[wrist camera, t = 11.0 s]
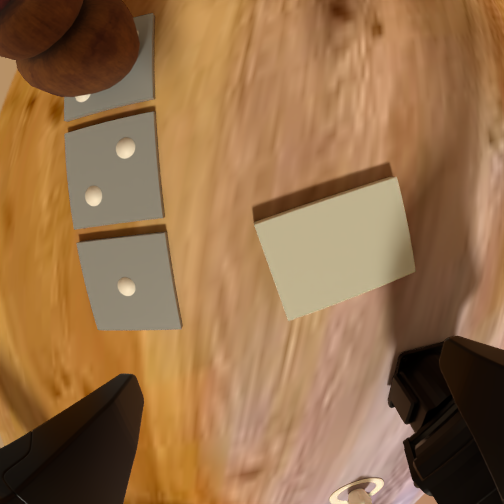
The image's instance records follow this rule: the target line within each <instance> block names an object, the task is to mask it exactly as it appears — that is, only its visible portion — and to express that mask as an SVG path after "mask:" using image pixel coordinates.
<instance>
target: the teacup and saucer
mask: <svg viewBox="0 0 504 504" xmlns="http://www.w3.org/2000/svg"><path fill="white" fill-rule="evenodd" d="M364 482H374V483H375V484H376V488H375V489H374V490H373V491H372V492H370V493H369V494H367V493H366V491H365V490H364V489H356V490H353V491H351V492H350V493H349V495H348V501H340V500H338V499H337V496H338V494H339V493H341V492H342V491H343V490H345V489H347V488H349V487H351V486H353V485H356V484H360V483H364ZM383 485H384V481H383V480H382V479H380V478H368V479H363V480H359V481H356V482H353V483H350V484H348V485H346V486H344V487H342V488H340V489H338V490H337V491H335V492H334V493H333V494H332V495H331V496H330V498H329V501H330V502H331V503H332V504H372V503H371V501H372V499H371V497H370V496H372V495H374V494H375V493H376V492H378V491H379V490H380V489H381V488H382V486H383Z"/></svg>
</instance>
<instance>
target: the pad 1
mask: <svg viewBox="0 0 504 504" xmlns="http://www.w3.org/2000/svg"><path fill="white" fill-rule="evenodd" d="M133 19H134V22H135V25H136V29H137V33H138V37H139V42H140V46H139V52H138V58H137V60H136V62H135V64H134V66H133V67H132V69H131V71H130V72H129V73H128V74H127V75H126V76H125V77H124V78H123V79H122V80H121V81H120V82H118V83H117V84H115V85H114V86H112V87H111V88H109V89H106V90H103V91H101V92H97V93H94V94H88V95H82V96H76V97H65V100H64V121H67V122H68V121H71V120H74V119H78V118H81V117H84V116H88V115H91V114H94V113H98V112H102V111H105V110H109V109H113V108H117V107H121V106H125V105H129V104H134V103H138V102H143V101H148V100H153V99H155V82H154V22H155V16H154V14H153V13H150V14H146V15H142V16H138V17H135V18H133Z"/></svg>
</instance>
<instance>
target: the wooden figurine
mask: <svg viewBox="0 0 504 504" xmlns="http://www.w3.org/2000/svg"><path fill="white" fill-rule="evenodd" d="M139 46H140V42H139V37H138V33H137V29H136V25H135V22H134V19H133V16H132V15H131V13H130V11H129V10H128V8H127V7H126V5H125V4H124V3H123V1H122V0H0V56H1V57H5V58H9V59H13V60H16V63H17V68H18V71H19V72H20V74H21V75H22V76H23V78H24V79H25V80H26V81H27V82H28V83H29V84H30V85H31V86H33V87H36V88H38V89H40V90H43V91H45V92H48V93H51V94H54V95H57V96H61V97H76V96H82V95H88V94H94V93H97V92H101V91H103V90H106V89H109V88H111V87H112V86H114V85H115V84H117V83H118V82H120V81H121V80H122V79H123V78H124V77H125V76H126V75H127V74H128V73H129V72H130V71H131V69H132V67H133V66H134V64H135V62H136V60H137V58H138V52H139Z"/></svg>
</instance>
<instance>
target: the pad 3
mask: <svg viewBox="0 0 504 504" xmlns="http://www.w3.org/2000/svg"><path fill="white" fill-rule="evenodd" d="M77 248H78V253H79V258H80V263H81V268H82V272H83V276H84V281H85V285H86V289H87V293H88V297H89V300H90V304H91V308H92V311H93V315H94V318H95V322H96V325H97V328H98V330H172V329H182V321H181V315H180V310H179V305H178V299H177V294H176V288H175V282H174V276H173V270H172V264H171V257H170V251H169V244H168V237H167V232H159V233H149V234H140V235H131V236H122V237H113V238H105V239H96V240H88V241H80V242H78V243H77Z"/></svg>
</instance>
